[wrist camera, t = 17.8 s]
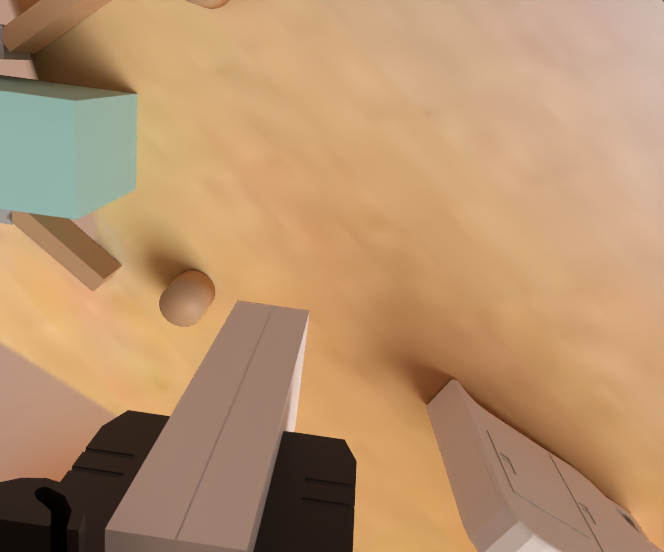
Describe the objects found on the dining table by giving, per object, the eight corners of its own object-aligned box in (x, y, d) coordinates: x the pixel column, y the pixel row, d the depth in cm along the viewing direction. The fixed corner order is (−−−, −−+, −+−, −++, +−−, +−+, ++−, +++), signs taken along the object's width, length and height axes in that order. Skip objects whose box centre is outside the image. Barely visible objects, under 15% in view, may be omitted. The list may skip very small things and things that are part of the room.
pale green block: (-52, 67, 32) (-165, 68, 25) (138, 93, 31) (75, 100, 25) (-44, 164, 33) (-148, 188, 27) (136, 188, 33) (77, 219, 26)
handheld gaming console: (593, 515, 40) (422, 407, 36) (625, 488, 39) (453, 374, 35) (692, 687, 30) (469, 565, 26) (737, 656, 29) (514, 524, 25)
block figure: (-77, -84, 29) (-115, -97, 27) (237, -43, 29) (225, -53, 27) (-46, 275, 35) (-74, 290, 33) (213, 312, 35) (202, 329, 33)
